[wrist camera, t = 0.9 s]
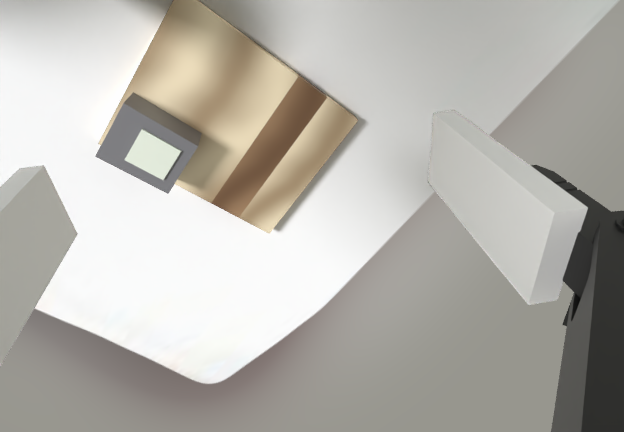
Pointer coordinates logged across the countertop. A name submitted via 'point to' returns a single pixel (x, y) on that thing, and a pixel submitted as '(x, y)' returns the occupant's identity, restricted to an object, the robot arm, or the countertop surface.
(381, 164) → the countertop surface
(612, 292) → the robot arm
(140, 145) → the gray block
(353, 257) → the countertop surface
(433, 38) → the countertop surface
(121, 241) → the countertop surface
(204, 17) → the board
